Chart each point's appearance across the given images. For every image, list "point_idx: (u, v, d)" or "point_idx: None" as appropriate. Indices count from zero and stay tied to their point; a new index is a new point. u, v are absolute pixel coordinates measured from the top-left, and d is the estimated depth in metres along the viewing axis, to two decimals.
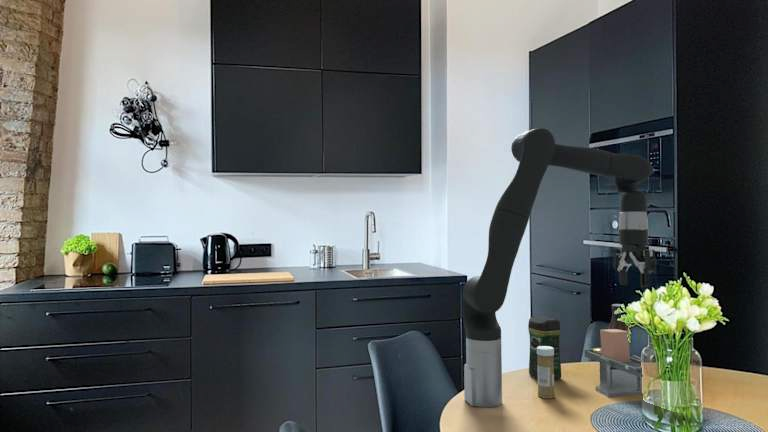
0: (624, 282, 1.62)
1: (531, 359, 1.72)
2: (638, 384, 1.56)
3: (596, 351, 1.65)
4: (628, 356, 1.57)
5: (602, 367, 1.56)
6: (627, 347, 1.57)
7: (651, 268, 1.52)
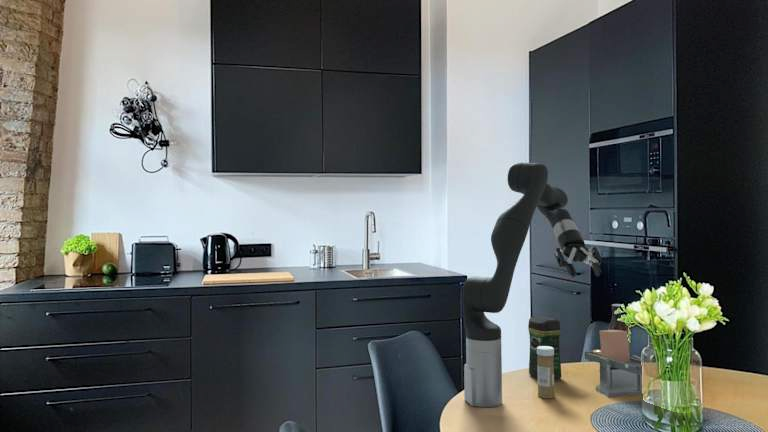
0: None
1: (531, 359, 1.72)
2: (638, 384, 1.56)
3: (596, 352, 1.65)
4: (628, 356, 1.57)
5: (602, 367, 1.56)
6: (626, 347, 1.57)
7: None
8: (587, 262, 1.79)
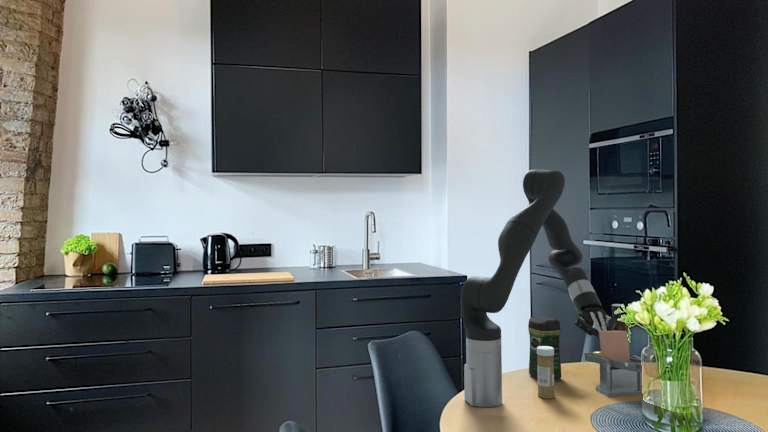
0: None
1: (531, 359, 1.72)
2: (638, 384, 1.56)
3: (596, 354, 1.65)
4: (628, 356, 1.57)
5: (602, 367, 1.56)
6: (626, 347, 1.57)
7: None
8: None
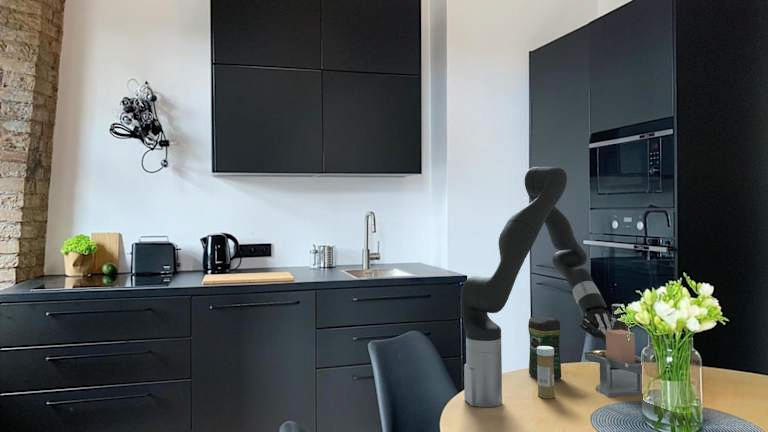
0: None
1: (531, 359, 1.72)
2: (638, 384, 1.56)
3: (596, 353, 1.65)
4: (634, 358, 1.54)
5: (602, 367, 1.56)
6: (633, 349, 1.54)
7: None
8: None
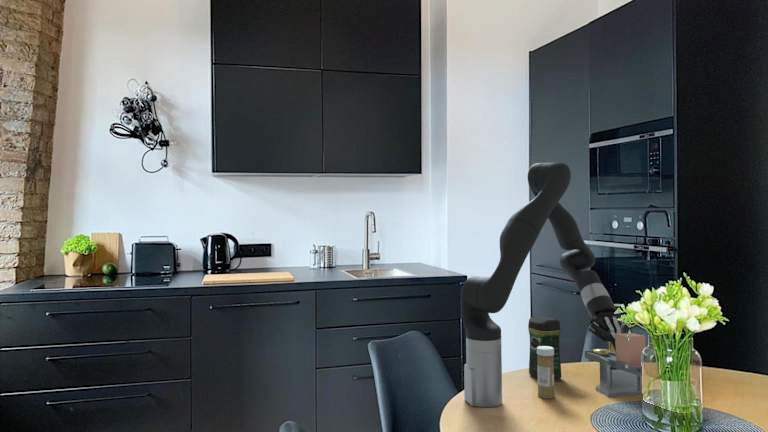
0: None
1: (531, 359, 1.72)
2: (638, 384, 1.56)
3: (596, 352, 1.65)
4: None
5: (602, 367, 1.56)
6: None
7: None
8: None
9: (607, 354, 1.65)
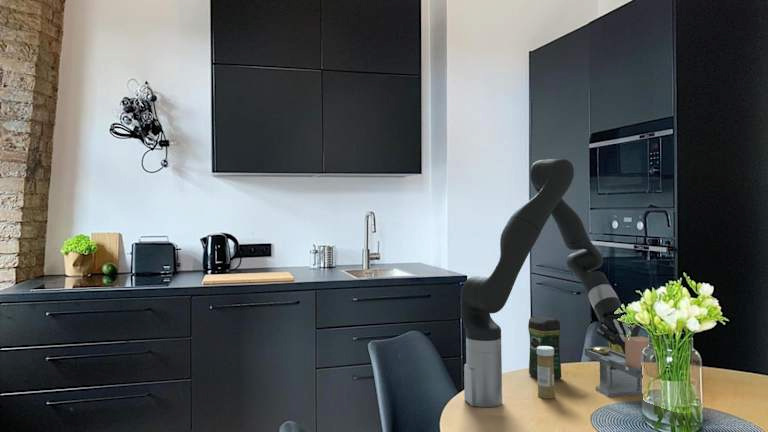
0: None
1: (531, 359, 1.72)
2: (638, 384, 1.56)
3: (596, 350, 1.65)
4: None
5: (602, 367, 1.56)
6: None
7: None
8: None
9: (607, 353, 1.65)
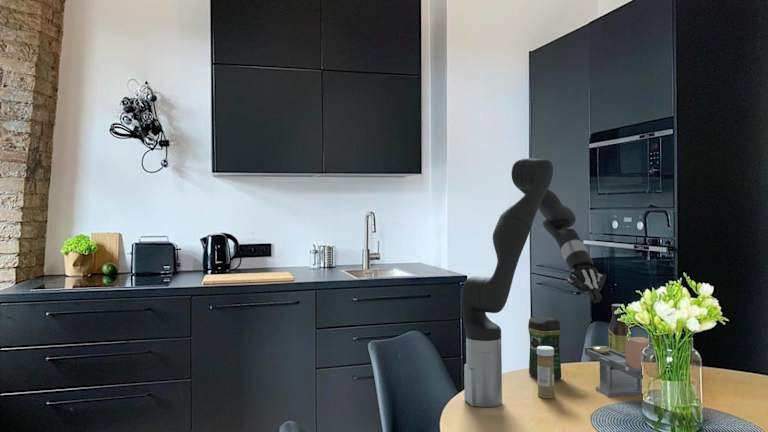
0: None
1: (531, 359, 1.72)
2: (638, 384, 1.56)
3: (596, 350, 1.65)
4: None
5: (602, 367, 1.56)
6: None
7: None
8: None
9: (607, 352, 1.65)
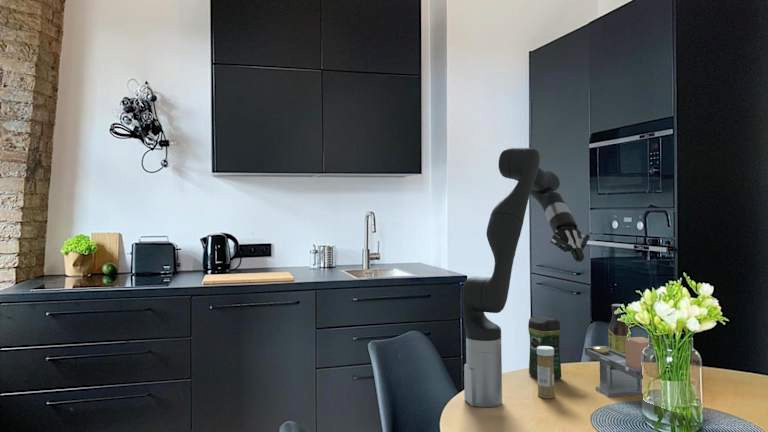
0: None
1: (531, 359, 1.72)
2: (638, 384, 1.56)
3: (596, 350, 1.65)
4: None
5: (602, 367, 1.56)
6: None
7: None
8: None
9: (607, 352, 1.65)
